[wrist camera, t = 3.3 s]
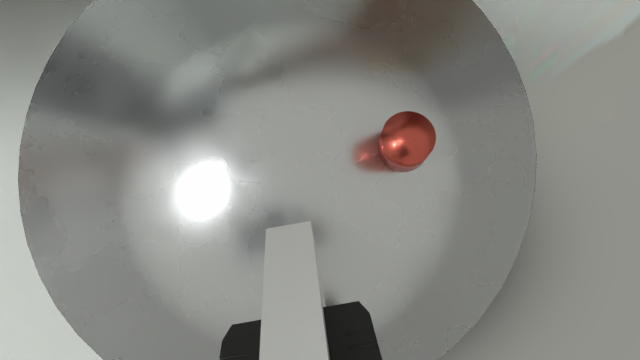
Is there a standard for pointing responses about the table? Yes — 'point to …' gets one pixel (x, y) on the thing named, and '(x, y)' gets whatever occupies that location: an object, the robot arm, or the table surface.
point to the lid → (275, 167)
